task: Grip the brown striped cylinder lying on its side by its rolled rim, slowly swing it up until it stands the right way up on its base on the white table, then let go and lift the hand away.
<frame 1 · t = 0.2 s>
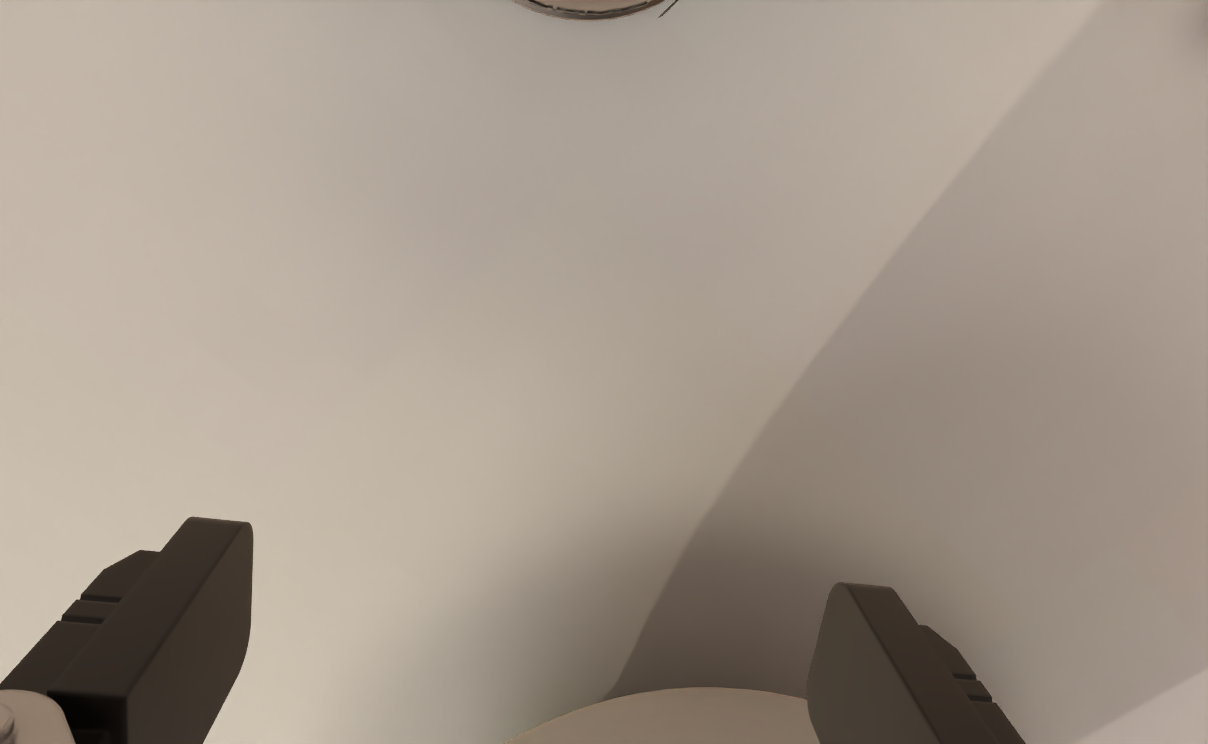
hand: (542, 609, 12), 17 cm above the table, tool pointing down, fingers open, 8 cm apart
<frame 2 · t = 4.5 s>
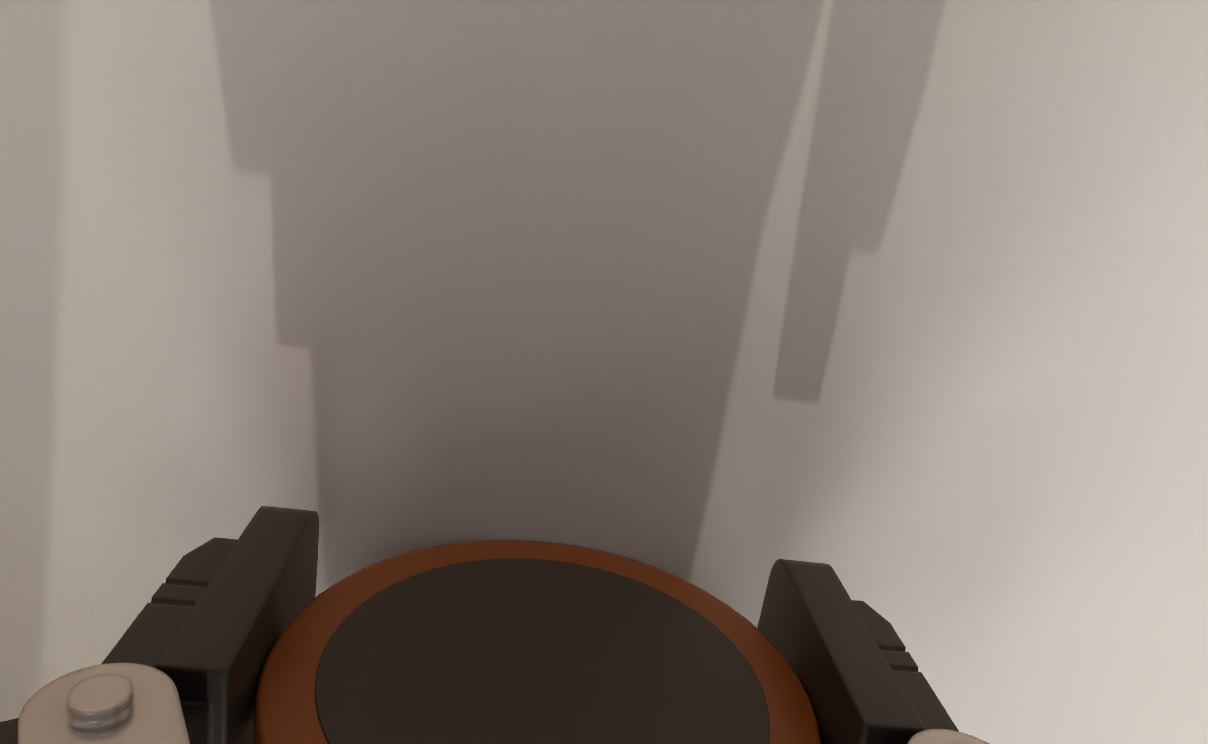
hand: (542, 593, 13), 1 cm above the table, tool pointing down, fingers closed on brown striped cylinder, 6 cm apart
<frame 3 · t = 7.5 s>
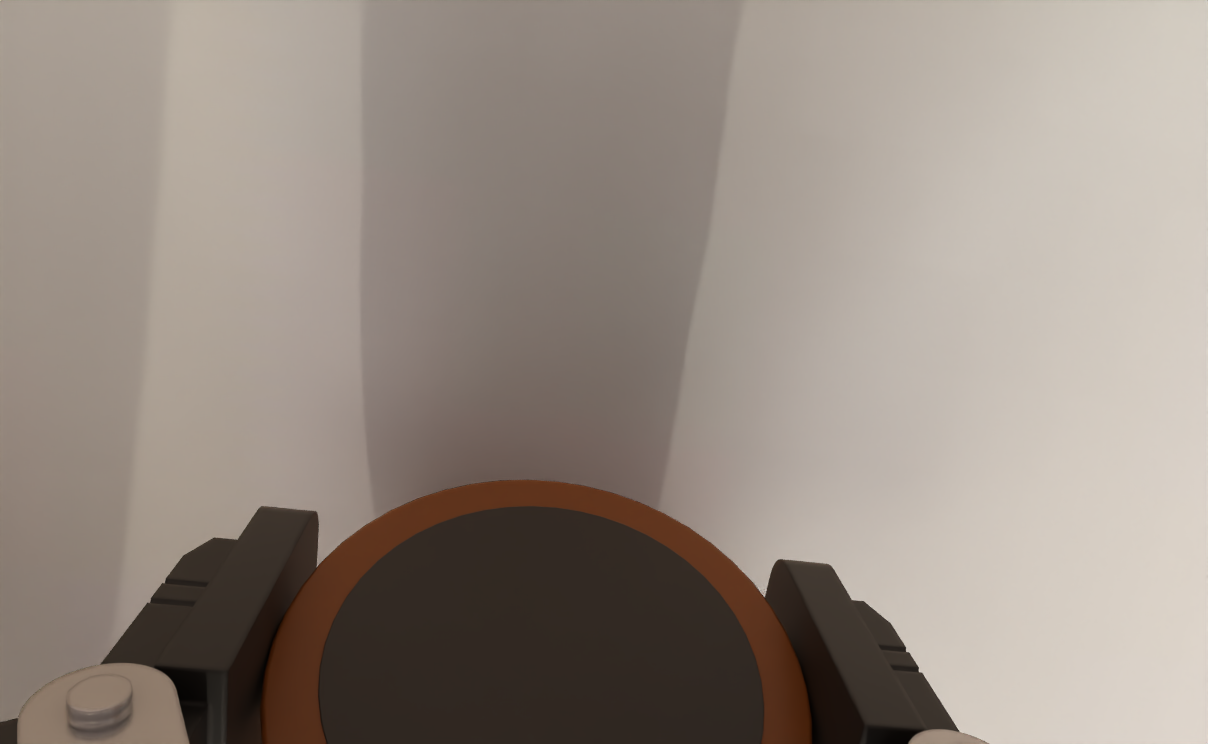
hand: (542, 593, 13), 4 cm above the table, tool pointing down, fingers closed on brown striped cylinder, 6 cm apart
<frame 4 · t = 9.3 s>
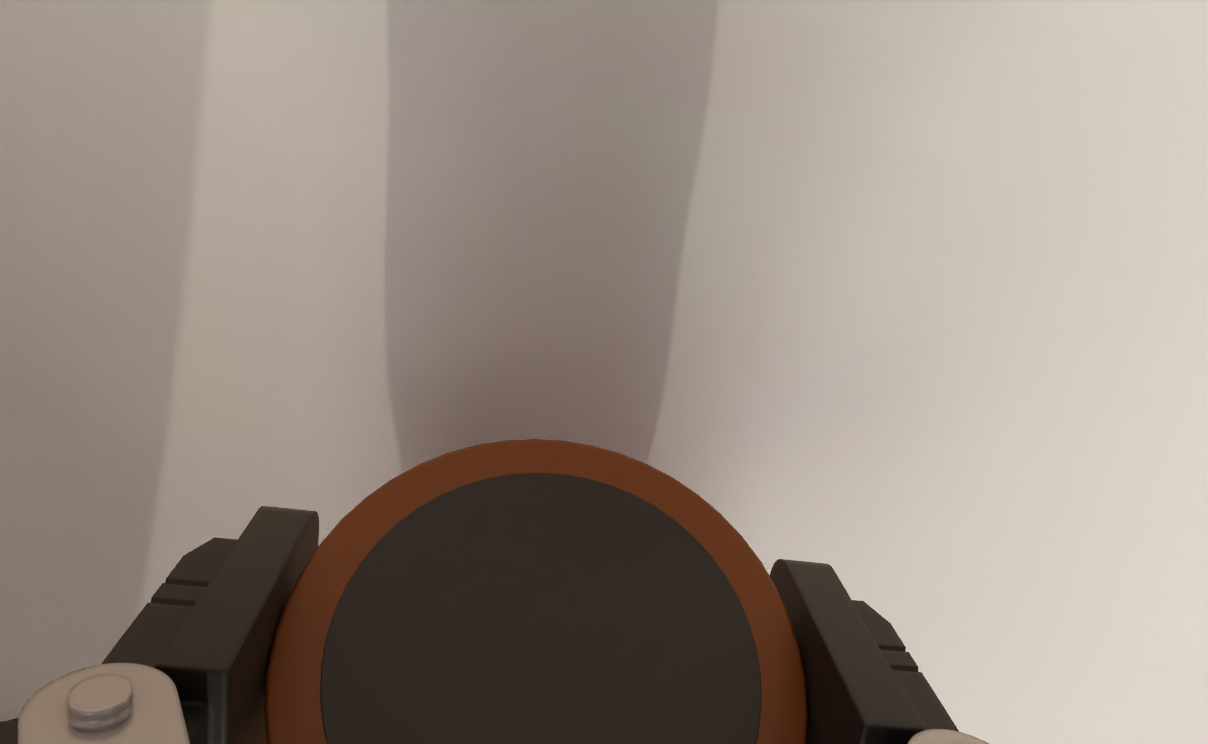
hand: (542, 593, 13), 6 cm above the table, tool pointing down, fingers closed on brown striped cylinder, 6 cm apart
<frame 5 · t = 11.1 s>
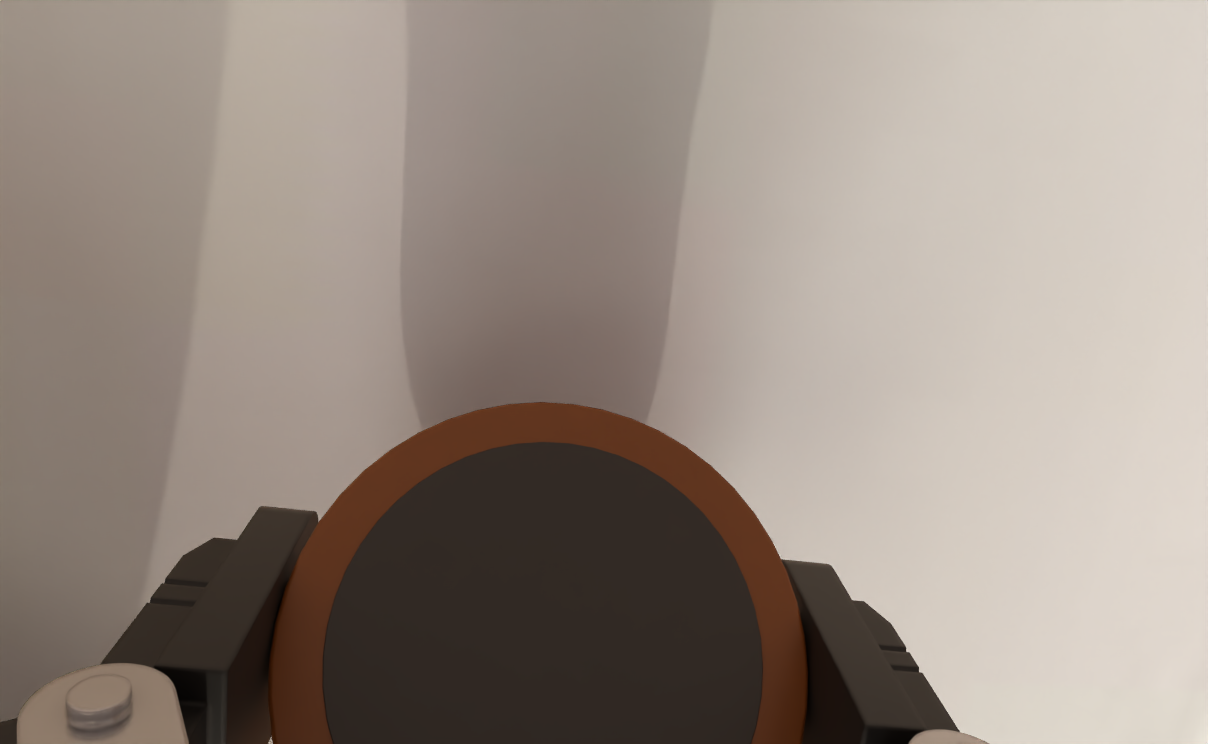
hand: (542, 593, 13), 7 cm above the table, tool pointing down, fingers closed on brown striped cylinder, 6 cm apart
brown striped cylinder: (522, 692, 15), point 6 cm above the table, hinge at 47.4°, touching gripper
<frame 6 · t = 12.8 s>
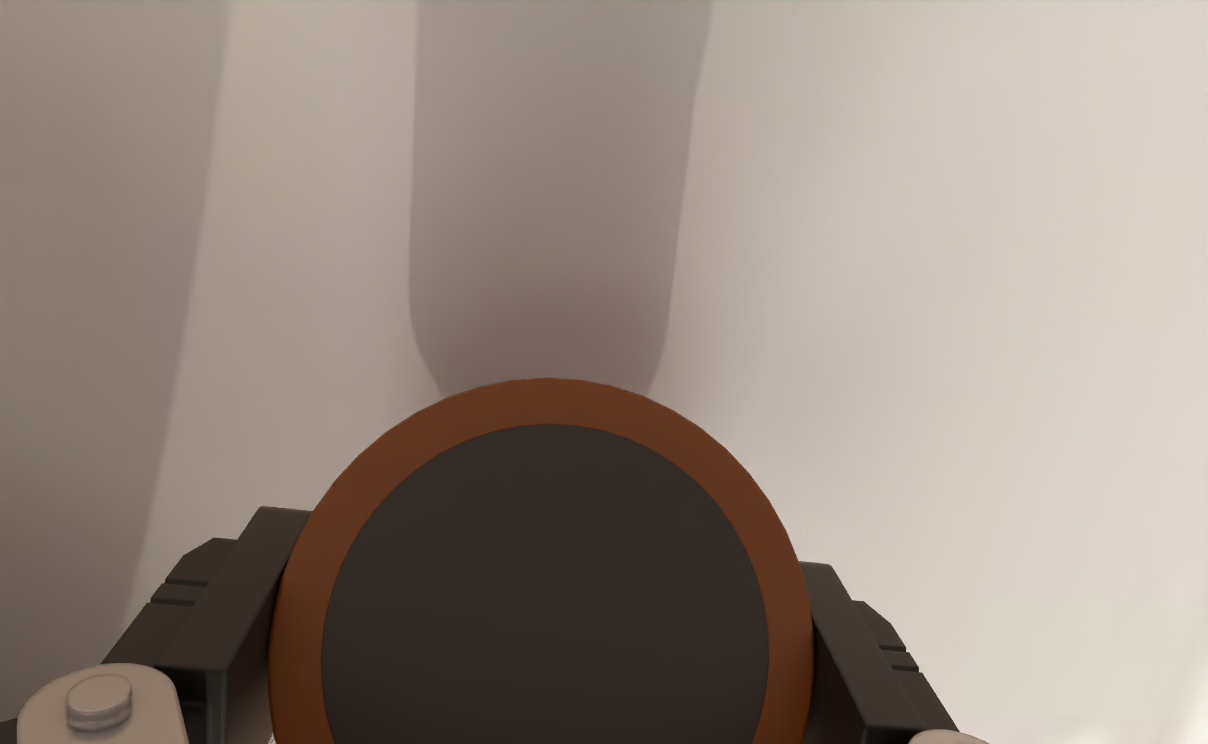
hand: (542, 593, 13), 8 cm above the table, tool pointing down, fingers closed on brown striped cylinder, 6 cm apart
brown striped cylinder: (530, 626, 15), point 6 cm above the table, hinge at 59.1°, touching gripper
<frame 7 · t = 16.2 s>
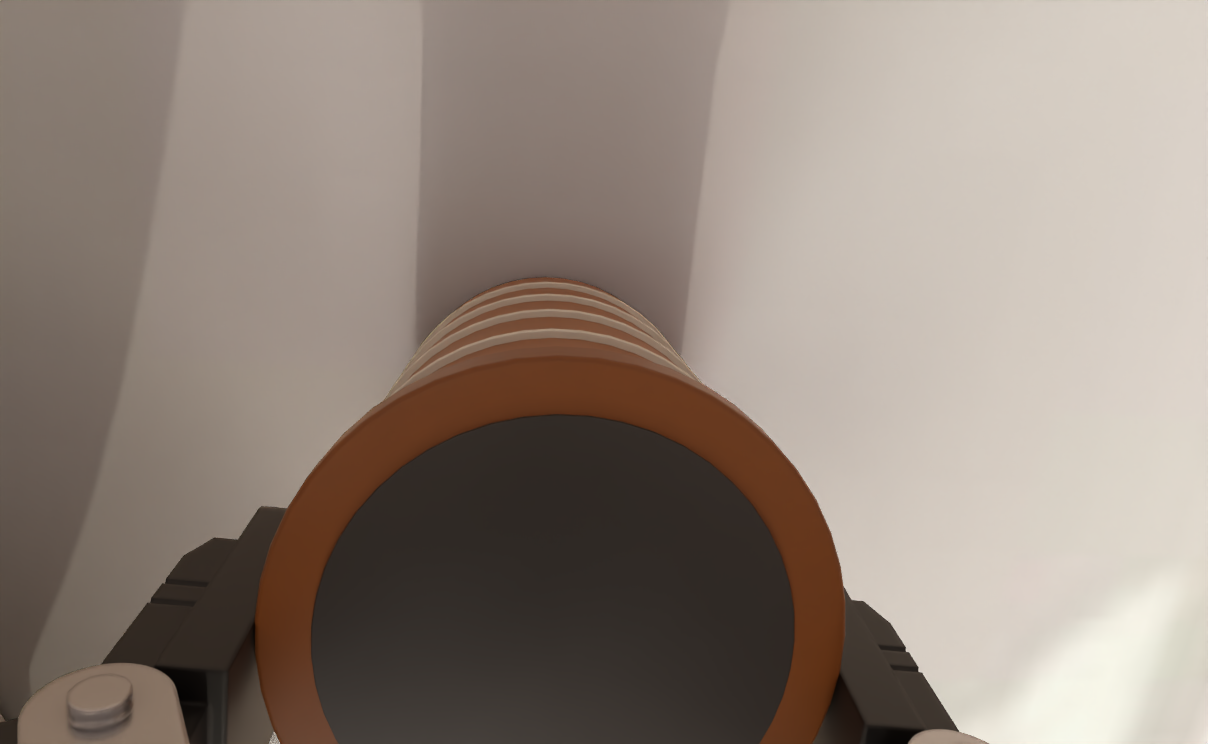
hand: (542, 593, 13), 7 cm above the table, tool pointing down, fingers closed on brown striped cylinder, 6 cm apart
brown striped cylinder: (549, 488, 14), point 5 cm above the table, hinge at 84.6°, touching gripper
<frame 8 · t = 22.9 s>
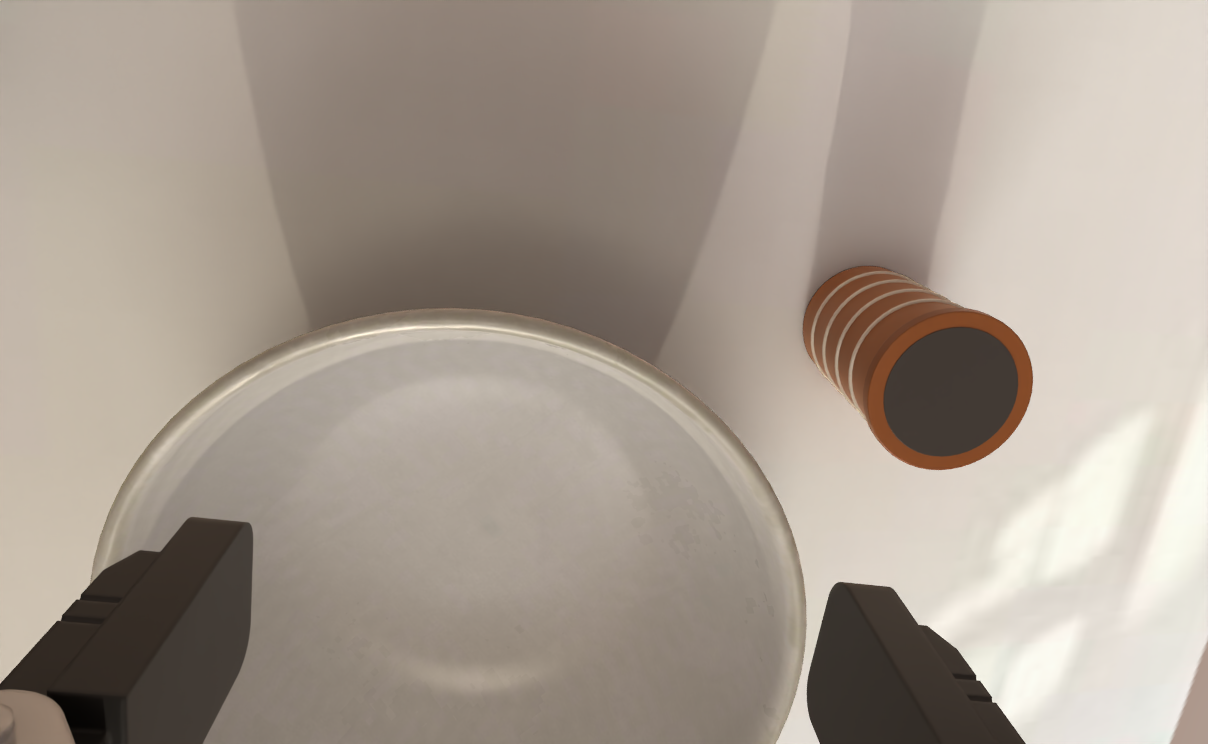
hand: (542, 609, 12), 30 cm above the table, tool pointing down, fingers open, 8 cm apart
decorative bowl: (480, 508, 45), on the table
brown striped cylinder: (900, 354, 38), point 5 cm above the table, hinge at 90.0°
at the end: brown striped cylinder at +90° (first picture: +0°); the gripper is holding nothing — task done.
